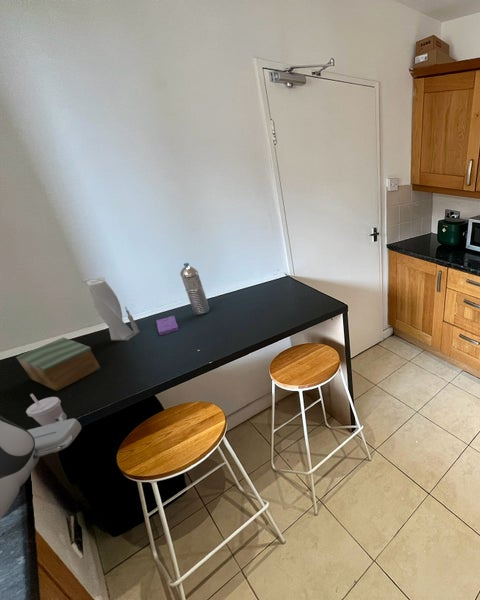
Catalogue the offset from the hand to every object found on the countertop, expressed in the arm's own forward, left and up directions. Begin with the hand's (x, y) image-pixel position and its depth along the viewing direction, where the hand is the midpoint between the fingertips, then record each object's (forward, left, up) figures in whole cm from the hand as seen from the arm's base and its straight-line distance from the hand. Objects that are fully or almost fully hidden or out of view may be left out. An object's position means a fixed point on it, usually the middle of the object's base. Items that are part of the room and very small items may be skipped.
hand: (38, 421), depth 83 cm
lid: (-14, +33, +1) cm, 36 cm away
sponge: (+8, +59, -8) cm, 60 cm away
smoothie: (-1, +4, -8) cm, 9 cm away
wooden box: (-15, +33, -8) cm, 37 cm away
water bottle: (+19, +70, -8) cm, 73 cm away
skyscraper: (-7, +55, -8) cm, 56 cm away
